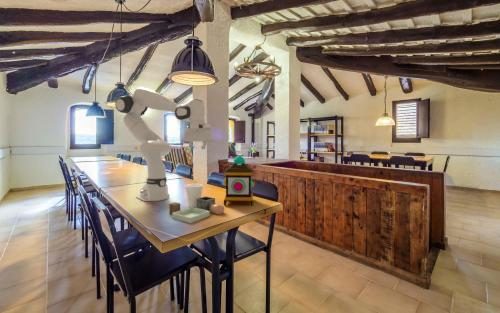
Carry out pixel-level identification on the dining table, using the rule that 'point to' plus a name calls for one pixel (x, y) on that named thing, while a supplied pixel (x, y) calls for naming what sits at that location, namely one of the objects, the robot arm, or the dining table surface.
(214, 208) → the potato
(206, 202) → the dark grey square bin
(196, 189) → the foam cup
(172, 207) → the walnut block
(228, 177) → the decorative lantern
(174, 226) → the dining table surface
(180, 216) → the pale green tray
